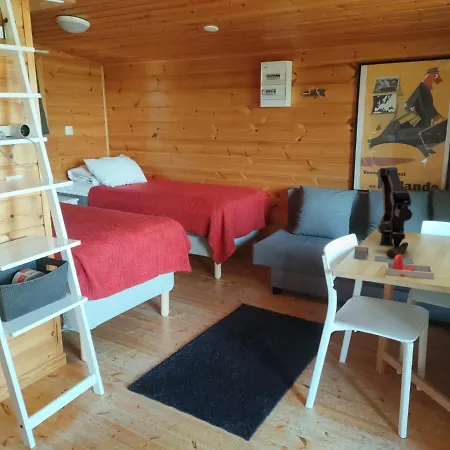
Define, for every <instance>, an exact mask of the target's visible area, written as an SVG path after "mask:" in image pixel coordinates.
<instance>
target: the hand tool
mask: <svg viewBox="0 0 450 450" xmlns="http://www.w3.org/2000/svg"><path fill="white" fill-rule="evenodd" d="M408 246H409V242H407V241H404V242H401V243H400V245H399V246H398V247H395V248H394V247H393V248H388V249H387V250H386V253H385V254H386V257H390V258H394V257H396V255H401V254H404V253H405V252H406V250H407V249H408Z"/></svg>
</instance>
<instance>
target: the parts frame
mask: <svg viewBox="0 0 450 450" xmlns="http://www.w3.org/2000/svg"><path fill="white" fill-rule="evenodd" d="M393 263H394V262H386V267H385V268H386V275H387V276H399V277H401V276H400V274H401V275H405V277H406V278H419V279H431V280H434V271H433V267H432V265H425V264H424V265H423V264H415V263H414V264H406V263H403V267H402V268H406V269H411V268H412V269H415V270H414V271H406V270H394V269H393Z"/></svg>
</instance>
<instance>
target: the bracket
mask: <svg viewBox="0 0 450 450" xmlns="http://www.w3.org/2000/svg"><path fill="white" fill-rule="evenodd" d="M403 258H404V257H403V255H402V254H399V255H396V256H395V259H394V262H392V263H393V268H392V269H394V270H406V271H416V270H415V269H412V268H411V269H406V268H402V267H403V264H404V263H403ZM399 277H403V278H404V277H406V276H405V275H401V274H400V276H399Z"/></svg>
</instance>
